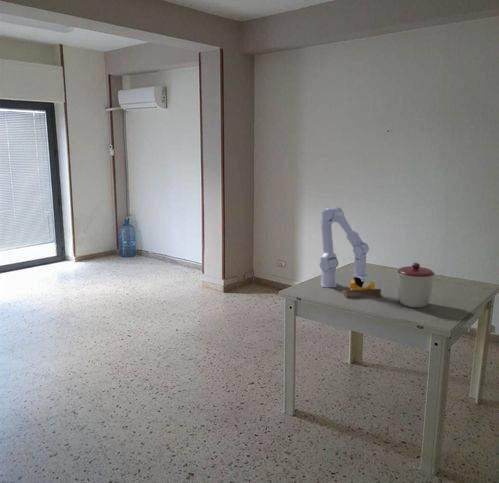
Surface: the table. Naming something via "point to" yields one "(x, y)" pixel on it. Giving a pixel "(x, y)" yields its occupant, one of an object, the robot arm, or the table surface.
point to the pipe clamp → (355, 286)
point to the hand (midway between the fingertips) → (358, 290)
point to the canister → (414, 285)
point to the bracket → (362, 293)
